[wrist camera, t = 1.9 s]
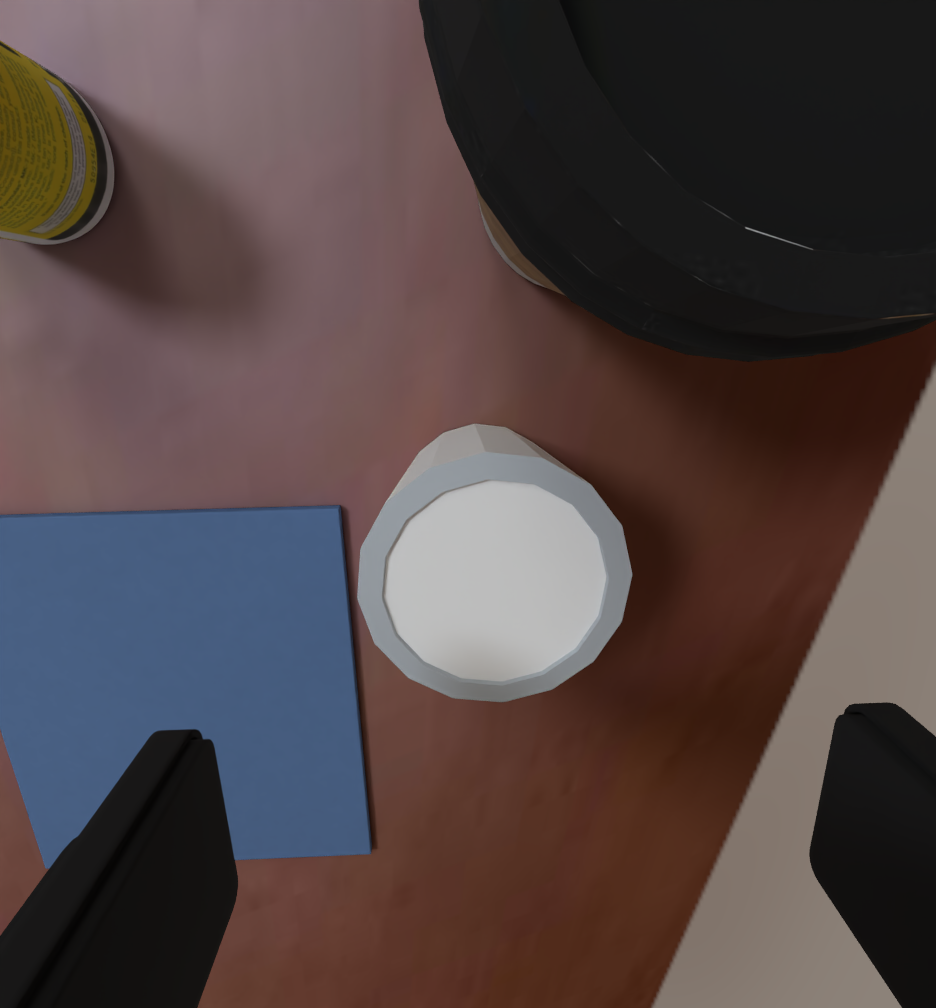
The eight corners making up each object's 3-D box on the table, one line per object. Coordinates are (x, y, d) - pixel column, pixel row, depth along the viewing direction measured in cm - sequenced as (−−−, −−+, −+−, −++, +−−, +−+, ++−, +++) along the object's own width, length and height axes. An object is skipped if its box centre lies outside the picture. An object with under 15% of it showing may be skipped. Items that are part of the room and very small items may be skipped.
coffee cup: (717, 304, 19) (1498, 281, 5) (464, 353, 19) (509, 468, 5) (701, -4, 17) (2281, -1970, 2) (409, 57, 17) (194, -1381, 3)
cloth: (-60, 516, 21) (-69, 519, 20) (340, 504, 21) (338, 508, 21) (51, 860, 26) (45, 868, 25) (372, 846, 26) (370, 854, 26)
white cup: (348, 461, 20) (300, 534, 14) (525, 369, 20) (565, 400, 13) (440, 615, 22) (437, 744, 16) (604, 538, 22) (673, 638, 15)
